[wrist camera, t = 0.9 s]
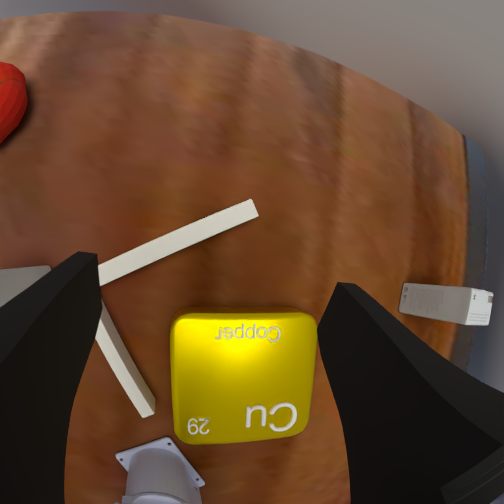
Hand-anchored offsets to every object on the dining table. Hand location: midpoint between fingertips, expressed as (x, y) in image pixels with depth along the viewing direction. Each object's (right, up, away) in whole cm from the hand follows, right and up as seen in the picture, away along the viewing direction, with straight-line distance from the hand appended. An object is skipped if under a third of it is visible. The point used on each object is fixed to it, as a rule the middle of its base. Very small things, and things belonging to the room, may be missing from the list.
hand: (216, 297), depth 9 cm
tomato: (-30, +18, +17) cm, 39 cm away
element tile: (-1, -12, +24) cm, 27 cm away
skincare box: (+24, -5, +30) cm, 39 cm away
